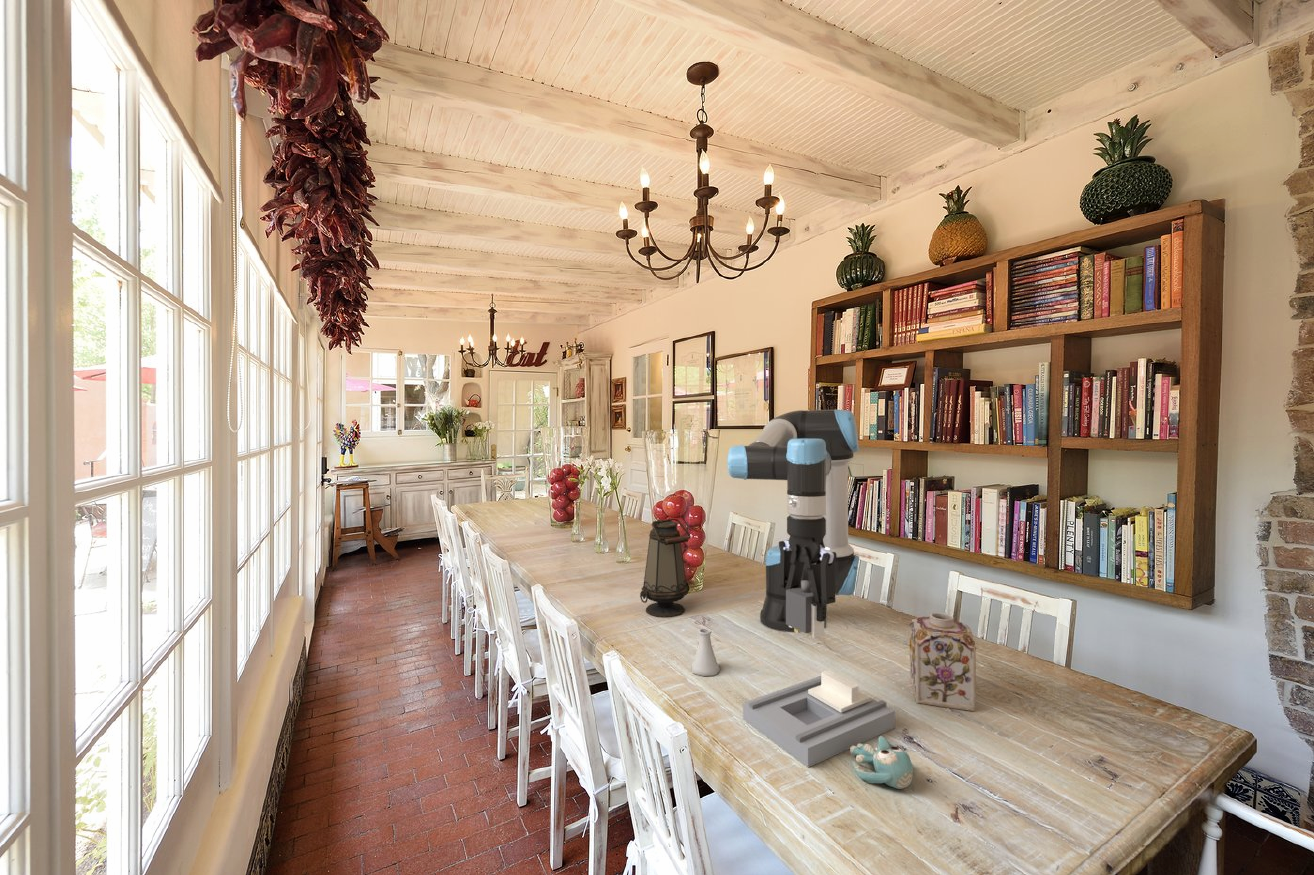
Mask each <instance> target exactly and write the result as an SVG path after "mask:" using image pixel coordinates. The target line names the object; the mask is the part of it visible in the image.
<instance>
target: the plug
mask: <svg viewBox="0 0 1314 875" xmlns="http://www.w3.org/2000/svg"><path fill="white" fill-rule="evenodd" d="M820 598H821V597H820ZM814 602H815V601H814V596H813V591H812V588H811V582H810V581H808V580H802V581H801V587H798V588H793V589H788V590H786V625H789V626H791V627H793V628H794V631H793V632H794V633H797V634H799V633H804V634H807V635H809V636H810V637H811V604H812V603H814ZM825 629H827V620H826V621H824V630H825Z"/></svg>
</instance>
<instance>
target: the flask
mask: <svg viewBox="0 0 1314 875" xmlns="http://www.w3.org/2000/svg"><path fill="white" fill-rule="evenodd" d="M698 633H699V642H698V646H697V649H696V652H695V655H694V658H693V660H692V664H691V665H690V666H691V667H690V670H691V671H692V674H695V675H698V676H703V677H706V676H707V677H708V676H709V677H711V676H717V674H719V672H720V671H721V670H720V666H719V664H718V661H717V659H716V658H717V657H716V656H715V652H714V649H713V645H712V640H711V634H712V629H711V628H706V627H705V628H704V627H702V628H700V629H698Z"/></svg>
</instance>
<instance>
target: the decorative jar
mask: <svg viewBox="0 0 1314 875" xmlns="http://www.w3.org/2000/svg"><path fill="white" fill-rule="evenodd" d="M909 627H910V628H909V677H910V678H909V679H910V682H911V687H912V690H913V695H914V699H915V702H916V704H921V705H926V706H927V705H929V706H934V707H941V708H949V709H954V710H963V711H969V712H974V711H975V710H976V700H977V699H976V698H977V697H976V693H977V690H976V689H977V658H976V656H977V653H976V650H977V647H976V642H975V639H974V635H973V632H972V630H971V628H970V627H969V626H968V624H966V623H963V622H961V621H958V620H955V618H954V616H953V615H951V614H948V613H947V612H946V613H945V612H940V611H939V612H931V613H930V615H927V616H921V617H919V616H918V617H917V618H913V619H911V622H910V624H909Z"/></svg>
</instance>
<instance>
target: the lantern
mask: <svg viewBox="0 0 1314 875" xmlns="http://www.w3.org/2000/svg"><path fill="white" fill-rule="evenodd" d="M678 524H679V525H680V527H681V528H682V529H683V531H684V532H685V533H686V535H683V536H681V533H680V531H679V529H678V528H677V526H679V525H678ZM651 527H652V529H651V530H650V531H649V534H648V536H649V540H648V548H647V554H646V555H647V557H646V563H645V571H644V578H643V579H644V580H643V585H642V587H641V591H640V595H639V597H640V600H641V602H642V603H643V604H646V603H647V602H648V600H650V601H652V602H654V603H650V604H649V605H648V606H647V607H646V608H645V612H646V613H647V615H649V616H652V617H655V618H663V619H664V618H665V619H666V618H668V619H669V618H675V617H679V616H681V615H683V614H685V612H686V608H685V607H684V605H682V604H681V603H677V602H678V601H681V600H682V599H684V598H685V596H687V595H688V593H689V591H690V585H689V583H688V582H687V577H686V570H685V562H684V556H683V549H682V544H683V543H688V542H689V539H691V534H690V533H689V531H688V530H687V529H686V527H685V525H683V523H682V521H681V520H680V519H678V518H677V517H676V518H675V517H674V518H670V517H669V518H666V519H658V520H655V521H652V523H651Z"/></svg>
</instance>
